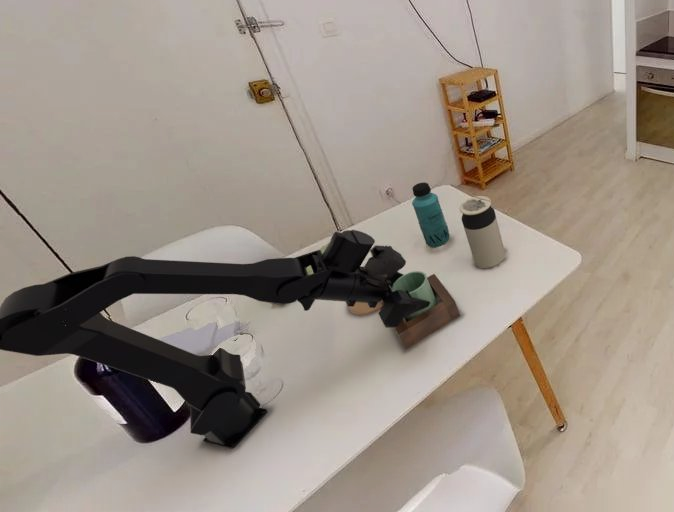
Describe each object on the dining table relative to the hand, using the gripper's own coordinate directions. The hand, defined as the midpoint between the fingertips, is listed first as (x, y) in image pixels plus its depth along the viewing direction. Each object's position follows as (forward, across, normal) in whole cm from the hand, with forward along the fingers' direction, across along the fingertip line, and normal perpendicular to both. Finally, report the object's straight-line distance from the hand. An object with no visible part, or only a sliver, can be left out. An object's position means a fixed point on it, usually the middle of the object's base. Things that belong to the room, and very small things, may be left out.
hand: (421, 292), depth 92 cm
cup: (+4, 0, +6) cm, 7 cm away
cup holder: (+4, 0, +6) cm, 7 cm away
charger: (-22, +25, +31) cm, 45 cm away
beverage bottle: (+13, +22, -3) cm, 26 cm away
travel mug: (+18, +7, -8) cm, 21 cm away
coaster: (-1, +15, +10) cm, 18 cm away
